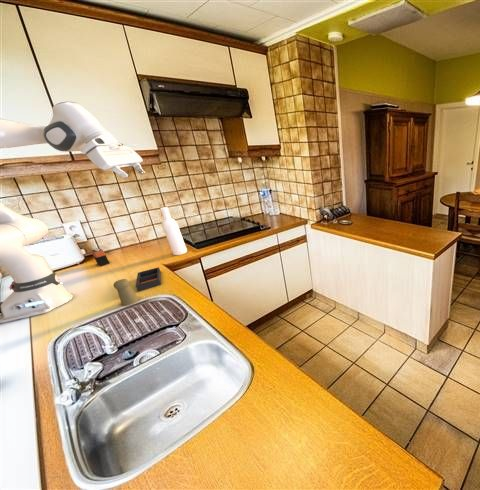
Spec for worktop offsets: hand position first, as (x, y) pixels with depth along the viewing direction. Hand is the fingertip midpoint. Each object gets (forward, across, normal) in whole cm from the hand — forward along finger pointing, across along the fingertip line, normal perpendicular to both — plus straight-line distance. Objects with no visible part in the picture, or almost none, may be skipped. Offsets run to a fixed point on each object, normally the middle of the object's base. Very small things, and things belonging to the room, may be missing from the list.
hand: (135, 175), depth 107 cm
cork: (+39, +7, -42) cm, 58 cm away
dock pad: (+38, -12, -44) cm, 59 cm away
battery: (+17, -44, -83) cm, 96 cm away
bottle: (+37, -49, -47) cm, 77 cm away
